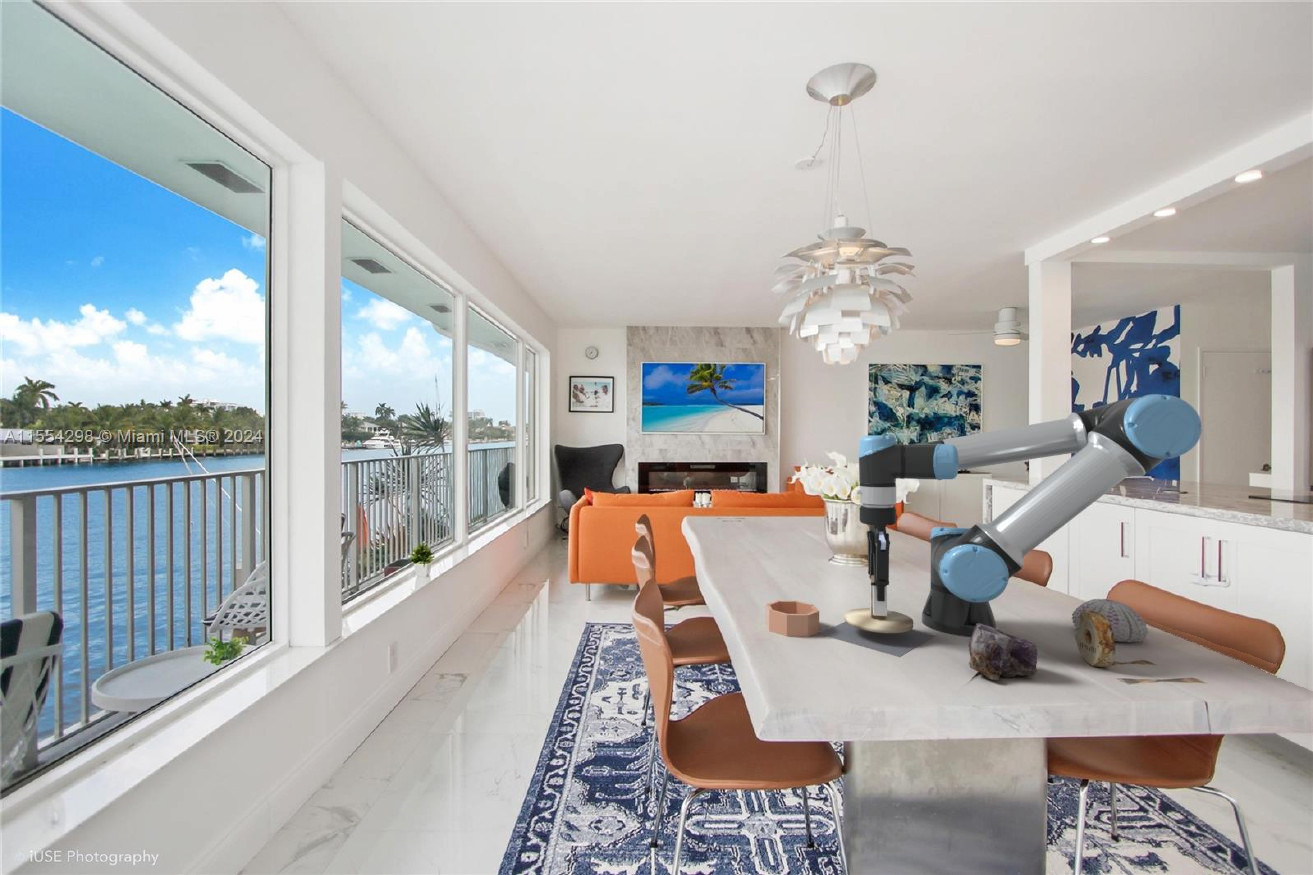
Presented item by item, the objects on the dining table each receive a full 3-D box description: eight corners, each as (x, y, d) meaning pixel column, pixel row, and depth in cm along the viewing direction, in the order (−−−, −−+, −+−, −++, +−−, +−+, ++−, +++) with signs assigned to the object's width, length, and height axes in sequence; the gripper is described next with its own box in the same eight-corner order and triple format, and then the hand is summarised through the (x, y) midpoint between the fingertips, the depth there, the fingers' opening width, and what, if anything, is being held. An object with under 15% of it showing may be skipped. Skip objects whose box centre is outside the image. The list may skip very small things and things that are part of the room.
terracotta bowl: (826, 630, 129) (826, 608, 129) (799, 642, 122) (799, 618, 122) (785, 618, 137) (785, 597, 137) (757, 629, 130) (757, 607, 130)
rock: (1041, 690, 102) (1004, 666, 112) (1050, 643, 102) (1012, 623, 112) (979, 681, 101) (947, 658, 111) (987, 634, 101) (955, 615, 111)
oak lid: (923, 622, 125) (923, 576, 125) (896, 637, 115) (896, 588, 115) (862, 608, 135) (862, 566, 135) (833, 622, 125) (832, 576, 126)
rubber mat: (935, 637, 125) (935, 635, 125) (899, 658, 113) (899, 656, 113) (857, 618, 138) (857, 616, 138) (818, 635, 126) (818, 633, 126)
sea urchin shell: (1061, 624, 135) (1062, 590, 135) (1129, 629, 132) (1130, 594, 132) (1087, 643, 122) (1087, 606, 122) (1163, 650, 119) (1163, 611, 119)
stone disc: (1120, 675, 106) (1120, 621, 106) (1096, 673, 107) (1096, 619, 107) (1095, 655, 116) (1095, 605, 116) (1073, 653, 117) (1074, 604, 117)
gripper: (854, 501, 134) (855, 601, 134) (865, 509, 118) (866, 623, 118) (888, 501, 133) (889, 603, 132) (904, 510, 117) (905, 625, 117)
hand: (878, 612), depth 125 cm, fingers closed on oak lid, 3 cm apart
